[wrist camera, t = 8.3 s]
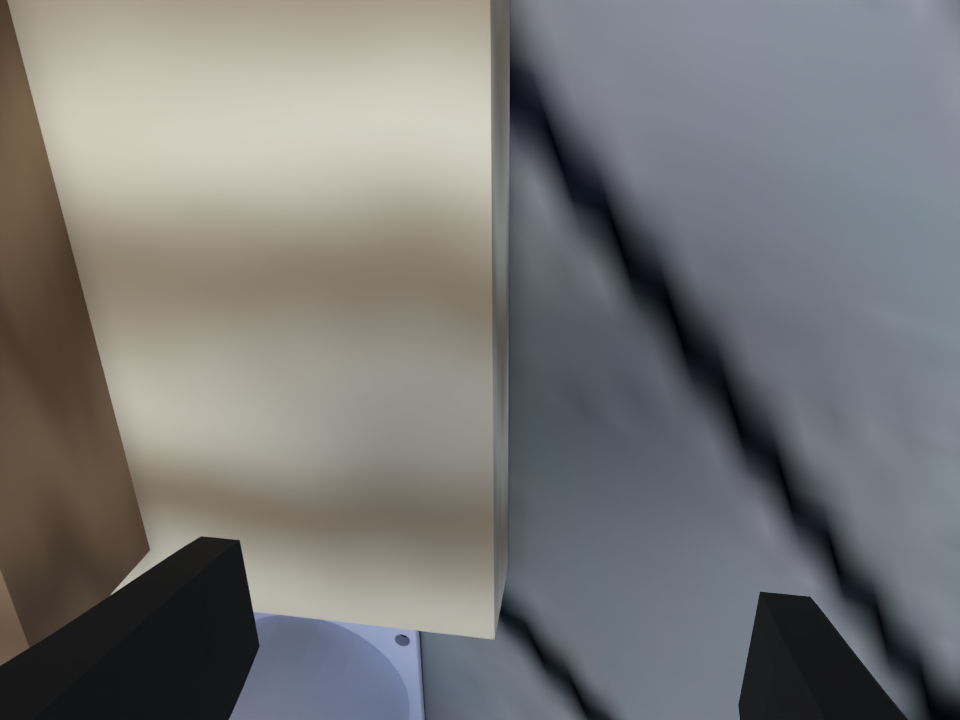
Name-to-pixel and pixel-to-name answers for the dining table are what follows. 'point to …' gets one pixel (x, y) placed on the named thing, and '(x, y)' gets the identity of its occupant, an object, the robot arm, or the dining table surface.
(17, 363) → the scraper bar
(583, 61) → the dining table surface
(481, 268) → the birch plate
